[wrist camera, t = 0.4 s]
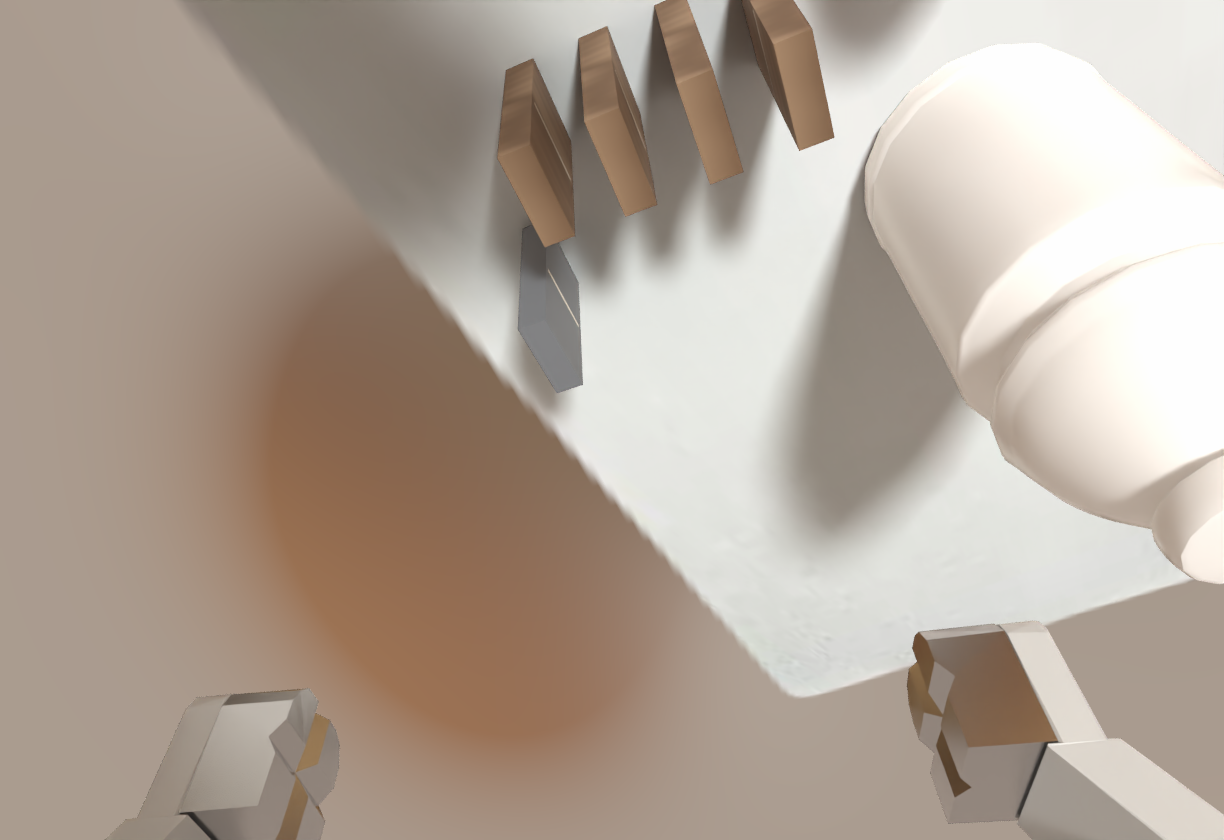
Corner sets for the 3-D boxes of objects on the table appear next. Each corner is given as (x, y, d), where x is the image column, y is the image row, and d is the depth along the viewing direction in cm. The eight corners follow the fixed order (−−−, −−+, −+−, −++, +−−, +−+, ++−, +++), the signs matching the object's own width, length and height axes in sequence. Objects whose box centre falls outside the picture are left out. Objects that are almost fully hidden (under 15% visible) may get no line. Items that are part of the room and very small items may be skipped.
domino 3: (684, 95, 44) (710, 184, 37) (654, 5, 41) (676, 84, 34) (712, 84, 44) (743, 171, 37) (684, -8, 41) (713, 69, 34)
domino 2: (613, 124, 45) (625, 216, 38) (578, 38, 42) (584, 122, 35) (640, 113, 45) (657, 204, 38) (607, 26, 42) (619, 107, 35)
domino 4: (758, 65, 44) (798, 150, 36) (733, -30, 40) (773, 44, 33) (787, 53, 43) (834, 137, 36) (765, -44, 40) (812, 28, 33)
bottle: (920, 294, 55) (1132, 675, 35) (814, 153, 47) (1008, 537, 27) (1133, 162, 49) (1537, 532, 29) (1051, -24, 41) (1522, 303, 21)
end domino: (556, 290, 53) (556, 393, 46) (522, 229, 50) (517, 329, 43) (578, 282, 53) (582, 384, 46) (546, 219, 49) (545, 319, 42)
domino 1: (545, 152, 46) (544, 247, 39) (505, 70, 43) (497, 158, 36) (571, 141, 46) (575, 235, 39) (533, 58, 43) (530, 144, 35)
